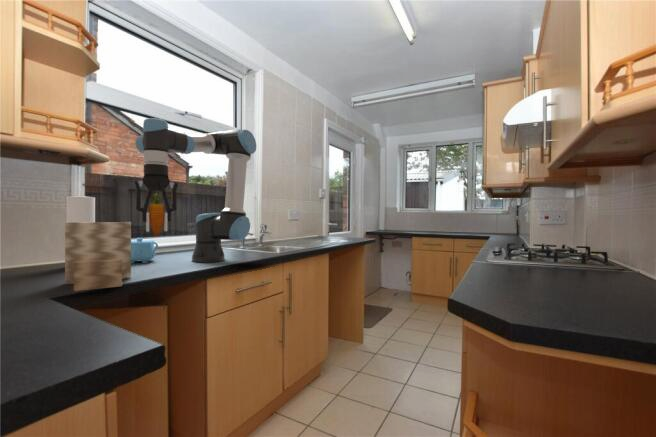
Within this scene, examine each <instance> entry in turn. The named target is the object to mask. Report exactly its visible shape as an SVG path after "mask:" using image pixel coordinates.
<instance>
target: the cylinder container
mask: <svg viewBox="0 0 656 437" xmlns="http://www.w3.org/2000/svg"><path fill="white" fill-rule="evenodd" d="M66 222H96V197H95V196H93V197H92V196H86V195H75V196H74V195H72V196H71V195H70V196H69V195H68V196H66Z"/></svg>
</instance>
